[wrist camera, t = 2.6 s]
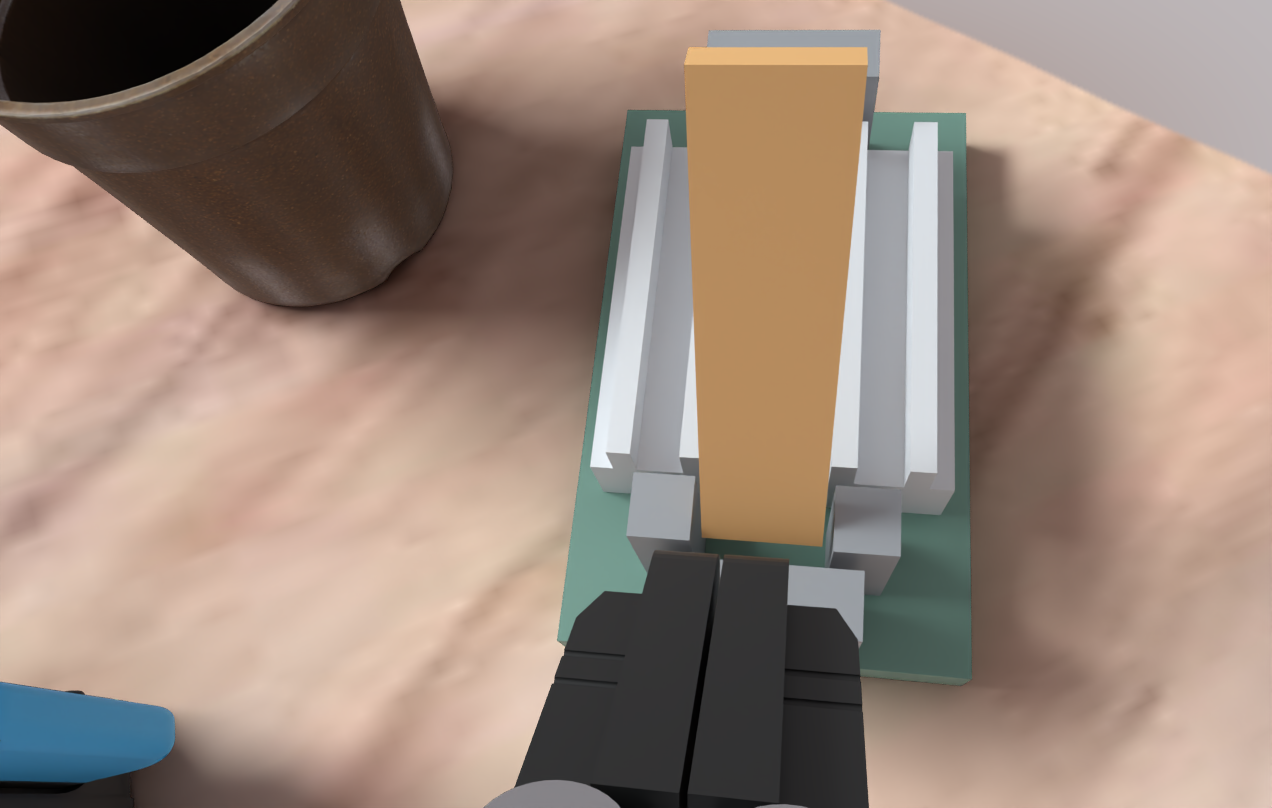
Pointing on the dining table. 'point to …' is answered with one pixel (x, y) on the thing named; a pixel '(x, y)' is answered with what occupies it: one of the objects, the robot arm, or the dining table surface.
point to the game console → (75, 747)
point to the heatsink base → (865, 403)
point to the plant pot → (241, 130)
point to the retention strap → (770, 277)
